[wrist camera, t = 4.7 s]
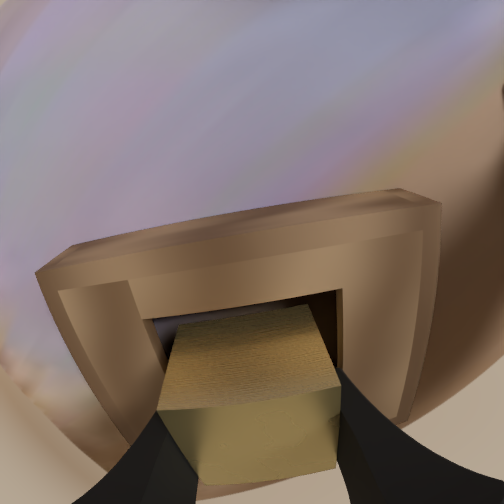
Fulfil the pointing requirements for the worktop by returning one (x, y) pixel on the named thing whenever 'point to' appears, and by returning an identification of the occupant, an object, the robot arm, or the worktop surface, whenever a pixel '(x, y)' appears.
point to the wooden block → (253, 397)
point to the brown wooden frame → (254, 291)
